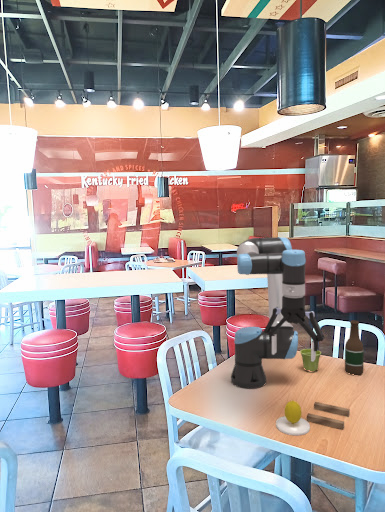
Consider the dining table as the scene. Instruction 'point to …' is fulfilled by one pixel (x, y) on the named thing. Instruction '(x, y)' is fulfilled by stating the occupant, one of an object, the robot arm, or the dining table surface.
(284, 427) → the saucer
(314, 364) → the plant pot
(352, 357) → the beer bottle
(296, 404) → the lemon
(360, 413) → the dining table surface
